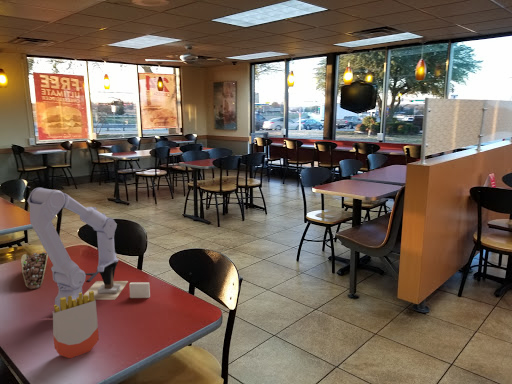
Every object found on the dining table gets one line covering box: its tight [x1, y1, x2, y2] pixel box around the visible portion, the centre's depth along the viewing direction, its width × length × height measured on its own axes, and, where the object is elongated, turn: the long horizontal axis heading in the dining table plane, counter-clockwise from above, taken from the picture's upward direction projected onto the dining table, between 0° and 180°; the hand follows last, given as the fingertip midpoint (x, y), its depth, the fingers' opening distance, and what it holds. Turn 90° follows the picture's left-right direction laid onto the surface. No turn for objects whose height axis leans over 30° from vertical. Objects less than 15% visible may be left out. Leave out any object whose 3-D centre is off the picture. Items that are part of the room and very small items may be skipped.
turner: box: [98, 270, 121, 294], centre depth 150 cm, size 5×7×8 cm
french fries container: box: [52, 291, 100, 359], centre depth 112 cm, size 5×11×18 cm, turn 132°
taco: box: [20, 252, 49, 290], centre depth 164 cm, size 10×27×10 cm, turn 24°
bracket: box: [85, 269, 100, 282], centre depth 166 cm, size 14×15×3 cm
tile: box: [128, 281, 151, 299], centre depth 146 cm, size 2×7×6 cm, turn 91°
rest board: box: [83, 280, 129, 301], centre depth 152 cm, size 16×13×1 cm
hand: (108, 282), depth 150 cm, fingers closed on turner, 2 cm apart
